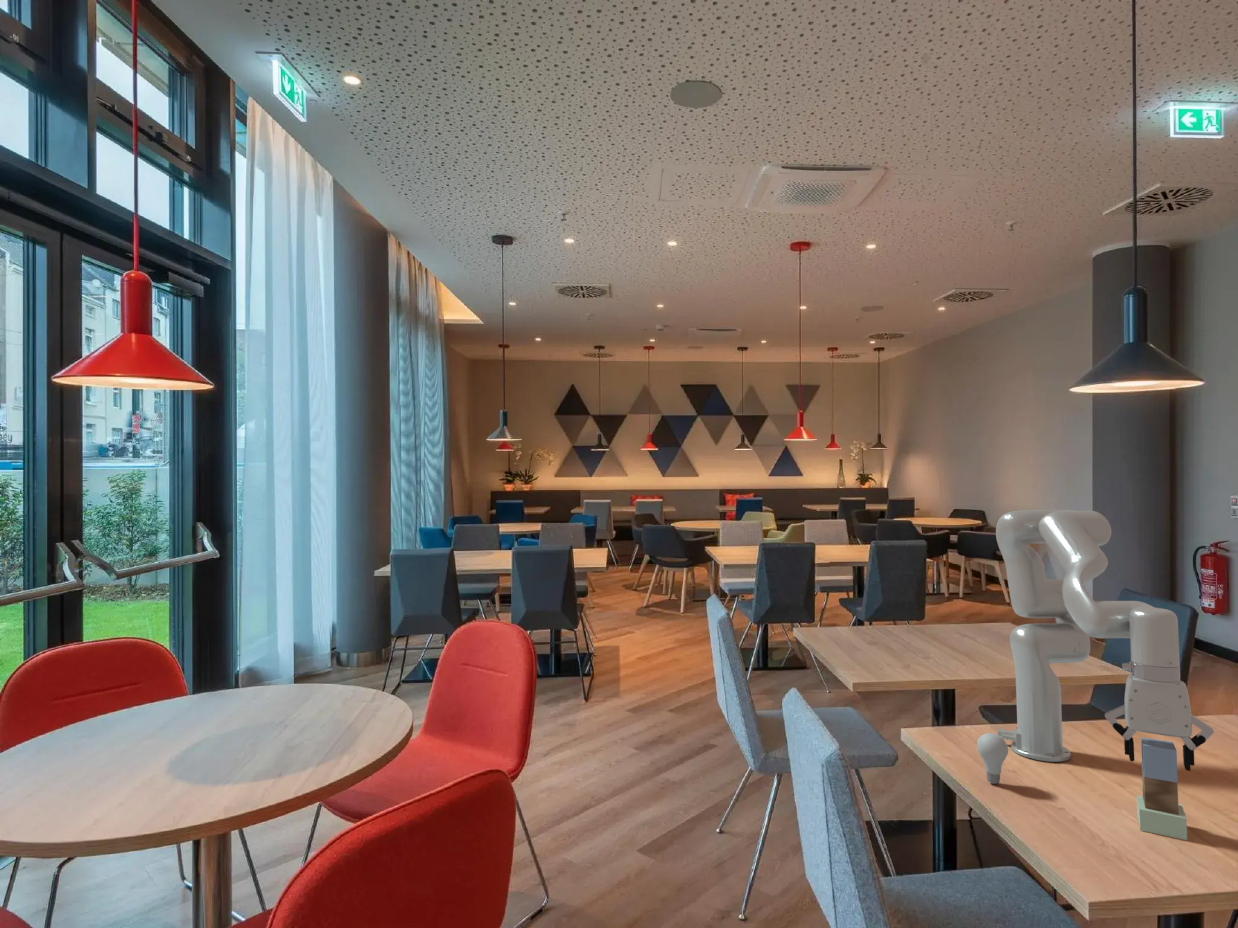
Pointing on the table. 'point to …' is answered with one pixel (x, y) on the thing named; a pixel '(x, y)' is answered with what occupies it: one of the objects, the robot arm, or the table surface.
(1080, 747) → the table surface
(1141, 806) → the base brick
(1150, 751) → the slate block
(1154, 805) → the walnut block
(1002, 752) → the lightbulb
